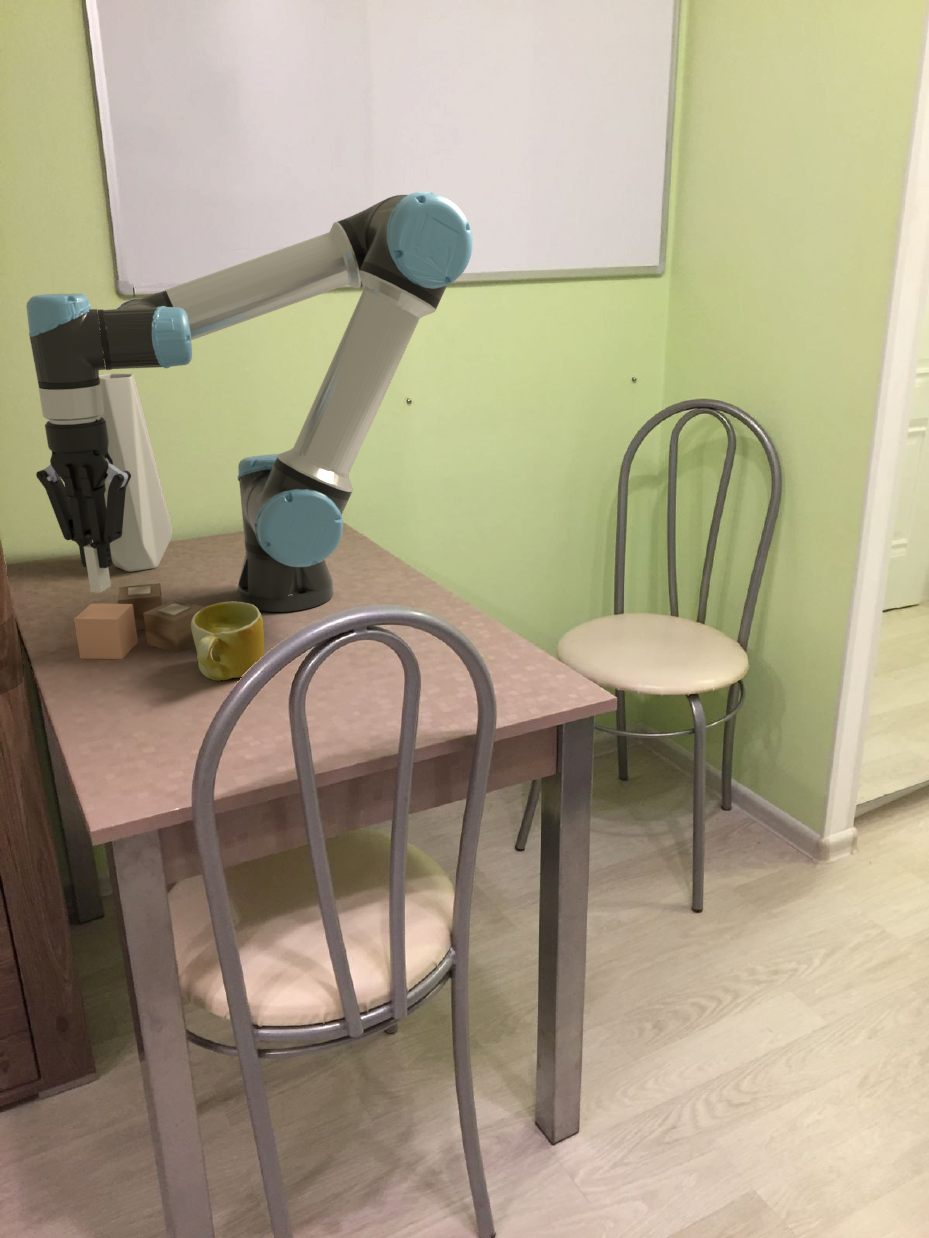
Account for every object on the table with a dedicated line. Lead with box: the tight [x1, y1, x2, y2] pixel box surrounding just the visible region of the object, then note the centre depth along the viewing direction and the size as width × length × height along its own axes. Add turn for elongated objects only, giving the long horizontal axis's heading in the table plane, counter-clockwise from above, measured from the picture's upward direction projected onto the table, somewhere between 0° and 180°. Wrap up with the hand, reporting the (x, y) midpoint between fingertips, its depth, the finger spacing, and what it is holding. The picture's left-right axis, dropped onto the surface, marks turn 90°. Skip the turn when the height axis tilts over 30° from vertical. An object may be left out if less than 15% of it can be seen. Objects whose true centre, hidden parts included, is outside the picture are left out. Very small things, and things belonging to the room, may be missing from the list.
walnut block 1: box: [117, 582, 164, 630], centre depth 153 cm, size 6×6×5 cm
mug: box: [191, 600, 265, 682], centre depth 135 cm, size 12×10×10 cm
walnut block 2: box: [143, 599, 206, 653], centre depth 145 cm, size 6×6×5 cm
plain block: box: [73, 603, 139, 660], centre depth 143 cm, size 6×6×6 cm
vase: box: [99, 372, 173, 573], centre depth 174 cm, size 12×12×33 cm
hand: (101, 588), depth 140 cm, fingers closed
